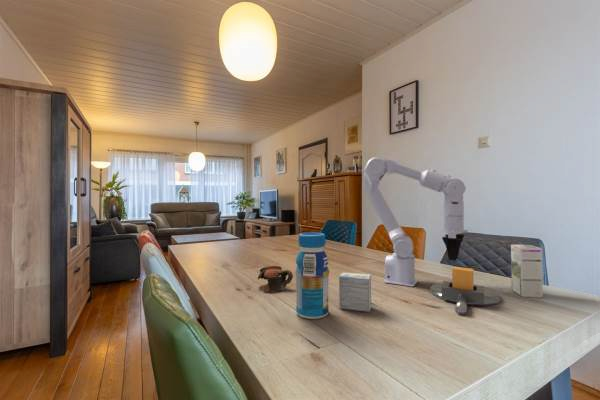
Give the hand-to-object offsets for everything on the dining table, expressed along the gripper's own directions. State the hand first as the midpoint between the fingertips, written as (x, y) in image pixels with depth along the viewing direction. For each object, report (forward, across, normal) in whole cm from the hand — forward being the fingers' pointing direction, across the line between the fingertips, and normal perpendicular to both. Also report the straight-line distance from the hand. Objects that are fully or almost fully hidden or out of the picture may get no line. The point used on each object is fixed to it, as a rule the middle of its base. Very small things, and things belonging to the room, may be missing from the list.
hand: (453, 257), depth 93 cm
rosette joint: (+9, -11, -3) cm, 15 cm away
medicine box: (+10, -33, +21) cm, 40 cm away
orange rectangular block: (+8, -13, -3) cm, 16 cm away
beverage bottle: (+10, -42, +29) cm, 52 cm away
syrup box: (+10, +3, -19) cm, 21 cm away
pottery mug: (+10, -30, +49) cm, 59 cm away
